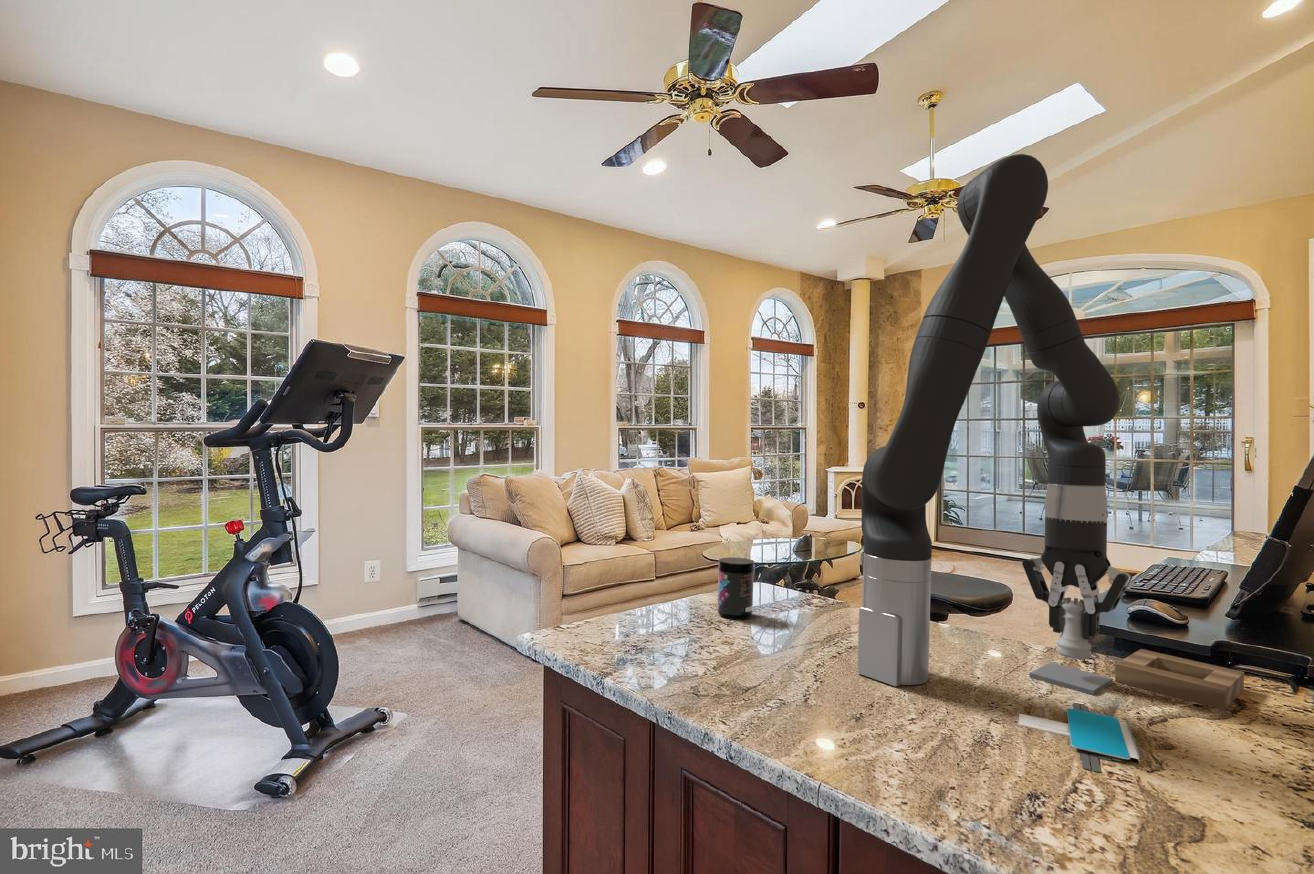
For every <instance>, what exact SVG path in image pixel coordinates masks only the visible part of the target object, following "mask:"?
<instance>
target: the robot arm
mask: <svg viewBox="0 0 1314 874" xmlns="http://www.w3.org/2000/svg"><path fill="white" fill-rule="evenodd" d="M1048 191H1049V179H1048V174H1047V172H1046V169H1045V167H1044V166H1043V164H1042V162H1040V160H1039V159H1037V158H1036V157H1035V156H1032V155H1030V154H1029V155H1028V154H1024V153H1018V154H1017V153H1016V154H1012V155H1009V156H1006V157H1003V158H1001V159H999V160H997V161H995V162H994V163H992V164H991V165H988V167H987V168H985V169H983V171H981V172H979V173H978V174H977V175H976V176H974V177H973V178H972V179H971V180H969V181H968V182H967V183H966V184H965V185H964V187H963V188H962V189H961V190H960V192H959V195H958V198H957V201H956V210H957V215H958V218H959V221H960V223H961V224H962V226H963V229H964V230H965V232H966V233H967V235H968V238H967V240H966V242H965V245H964V248H962V249H963V250H962V251H961V253H960V254H959V257H958V259H957V260H956V261H955V263H954V265H952V267H951V269H950V271H948V274H947V275H946V276H945V278H944V279H943V280H942V282H941V284H939V287H938V288H937V290H936V292H935V293H934V295H933V296H932V298H931V300H930V302H929V304H928V306H927V307H926V310H925V312H924V314H923V317H922V319H921V322H920V325H919V327H918V331H917V333H916V335H915V339H914V341H913V345H912V349H911V351H910V356H909V362H908V367H907V368H908V369H907V378H906V385H905V386H906V387H905V388H906V389H905V396H904V402H903V404H902V408H901V411H900V413H899V416H898V419H897V422H896V423H895V425H894V428H893V430H892V432H891V434H890V437H889V439H888V441H887V442H886V444H885V446H884V445H883V446H882V447H879V448H877V449H876V450H874V451H873V452H871V454H870V455H869V456H868V457H867V459H866V461H865V462H864V466H863V470H862V475H861V531H862V532H861V533H862V538H863V565H862V566H863V569H862V596H861V597H862V600H861V601H862V602H861V607H860V608H858V609H859V610H858V635H857V636H858V638H857V639H858V642H857V643H858V644H857V645H858V646H857V671H856V673H857V674H858V675H863V677H867V678H870V679H873V680H876V681H879V682H882V683H885V684H888V685H890V686H893V687H898V686H915V685H916V686H917V685H922V684H925V683H926V682H928V681H929V673H930V672H929V669H930V668H929V667H930V666H929V665H930V662H929V661H930V631H931V630H930V629H931V628H930V625H931V624H930V620H931V593H932V592H931V589H932V588H931V587H932V586H931V585H932V580H931V579H932V555H933V548H932V547H933V542H932V538H931V536H930V533H929V529H928V525H927V517H926V516H927V515H926V514H927V511H926V510H927V503H929V502H930V500H932V499H933V498H934V496H935V495H936V493H937V492H938V489H939V487H940V483H941V480H942V477H943V473H944V470H945V469H944V468H945V463H946V459H947V456H948V451H949V447H950V444H951V440H952V439H951V438H952V435H953V432H954V430H955V429H954V428H955V425H956V422H957V420H958V417H959V415H960V412H961V411H962V407H963V405H964V403H965V401H966V399H967V396H968V394H969V391H970V389H971V387H972V384H973V381H974V378H975V377H976V373H977V371H978V369H979V366H980V364H981V362H982V359H983V356H984V354H985V350H986V348H987V346H988V343H989V340H990V337H991V334H992V332H993V329H994V325H995V322H996V320H997V316H998V313H999V311H1000V309H1001V306H1002V303H1003V300H1004V299H1005V301H1006V303H1007V304H1008V306H1009V307H1008V308H1009V309H1010V311H1011V314H1012V316H1013V318H1014V321H1015V323H1016V326H1017V328H1018V332H1019V334H1020V336H1021V339H1022V341H1023V342H1022V343H1023V344H1024V347H1025V350H1026V352H1027V353H1028V356H1029V359H1030V361H1031V364H1032V365H1033V367H1035V368H1037V369H1039V370H1042V371H1043V370H1044V371H1048V372H1051V373H1052V374H1053V375H1054V376H1055V377H1056V379H1058V380H1055V381H1052V382H1051V383H1049V384H1048V385H1046V386H1045V387H1044V388H1043V389H1042V391H1041V393H1040V394H1039V397H1038V400H1037V406H1036V413H1037V414H1036V415H1037V419H1038V420H1037V421H1038V424H1039V429H1040V432H1041V436H1042V440H1043V444H1044V447H1045V449H1046V454H1047V456H1048V457H1047V459H1048V460H1047V487H1046V493H1045V499H1044V500H1045V502H1044V503H1045V504H1044V550H1043V551H1042V554H1041V556H1040V557H1036V558H1034V557H1033V558H1032V557H1031V558H1028V559H1023V561H1022V562H1021V563H1022V564H1021V565H1022V567H1023V569H1024V572H1025V574H1026V577H1027V579H1028V582H1029V584H1030V586H1031V587H1030V588H1031V590H1032V592H1033V595H1034V597H1035V598H1036V599H1037V600H1040V601H1043V602H1044V603H1047V605H1048V625H1049V628H1052V631H1053V633H1057V634H1061V633H1062V630H1063V624H1064V617H1063V614H1064V609H1063V607H1062V606H1061V604H1062V603H1063V602H1064V598H1066V593H1067V590H1068V589H1069V586H1073V587H1074V588H1075V587H1076V588H1078V589H1079V592H1080V596H1081V597H1082V600H1084V605H1085V612H1084V623H1083V638H1084V639H1087V640H1088V641H1091V640H1093V639H1094V638H1095V637H1096V636H1098V635H1099V633H1100V614H1101V613H1109V612H1111V611H1113V610H1116V609H1117V606H1119V605H1118V604H1119V603H1120V601H1121V600H1122V597H1124V594H1125V592H1126V590H1127V588H1128V586H1129V585H1130V583H1131V581H1132V579H1133V574H1131V573H1130V572H1128V571H1121V570H1119V569H1117V568H1115V567H1113V566H1112V565H1111V562H1110V560H1109V559H1108V555H1107V552H1108V541H1107V540H1108V518H1109V510H1108V497H1107V492H1106V491H1107V490H1106V477H1107V476H1106V475H1107V474H1106V472H1107V471H1106V470H1107V468H1106V467H1107V463H1106V461H1107V458H1106V452H1105V450H1104V449H1103V448H1102V447H1101V446H1100V445H1097V444H1094V443H1090V442H1089V441H1088V440H1087V436H1086V434H1085V431H1084V427H1097V426H1102V425H1103V426H1104V425H1105V424H1108V423H1109V422H1111V421H1112V420H1113V419H1115V416H1116V415H1117V413H1118V411H1119V408H1120V402H1121V401H1120V399H1121V398H1120V392H1119V389H1118V386H1117V384H1116V382H1115V380H1114V379H1113V377H1112V376H1111V374H1110V373H1109V371H1108V370H1107V369H1106V367H1105V366H1104V364H1102V361H1100V359H1099V358H1098V357H1097V355H1096V354H1095V353H1094V352H1093V350H1092V349H1091V348H1090V347H1089V345H1088V344H1087V343H1086V341H1085V337H1084V336H1083V335H1084V334H1082V333H1083V332H1082V330H1081V328H1080V325H1079V323H1078V320H1077V317H1076V315H1075V311H1074V309H1073V307H1072V305H1071V303H1070V301H1069V300H1068V297H1067V296H1066V294H1065V293H1064V292H1063V291H1062V289H1061V288H1060V287H1059V286H1058V285H1057V284H1056V283H1055V282H1054V280H1052V278H1051V277H1050V276H1049V275H1048V274H1047V273H1046V272H1045V271H1044V269H1043V268H1042V267H1040V265H1039V264H1038V262H1037V261H1036V259H1035V258H1034V257H1033V255H1032V253H1031V251H1030V250H1029V248H1028V246H1027V244H1026V242H1027V241H1028V238H1029V236H1030V234H1031V232H1032V230H1033V227H1034V226H1035V224H1036V222H1037V220H1038V218H1039V216H1040V215H1041V212H1042V210H1043V208H1044V206H1045V203H1046V201H1047V195H1048ZM1044 566H1045V568H1046V569H1047V571H1048V572H1049V573H1050V576H1052V577H1051V582H1050V585H1049V586H1048V584H1047V583H1046V579H1045V577H1044V575H1043V571H1044ZM1106 574H1107V575H1108V579H1107V581H1108V583H1109V584H1110V587H1109V589H1108V590H1107V592H1106V594H1105V596H1104V598H1103V600H1102V601H1101V599H1100V589H1099V584H1098V583H1099V581H1100V580H1101V579H1102V578H1103V577H1104V576H1105V575H1106ZM1048 587H1049V588H1048Z"/></svg>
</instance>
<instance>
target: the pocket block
mask: <svg viewBox="0 0 1314 874" xmlns="http://www.w3.org/2000/svg"><path fill="white" fill-rule="evenodd" d="M1114 669H1115V670H1114V672H1115V677H1114V678H1115V679H1114V681H1115V682H1117V683H1121V684H1125V685H1129V686H1133V687H1136V688H1139V689H1144V690H1147V691H1151V692H1155V693H1159V694H1162V695H1166V696H1171V697H1174V698H1177V699H1182V700H1185V701H1189V702H1193V703H1196V704H1200V705H1204V706H1208V707H1212V708H1215V709H1219V710H1222V711H1226V709H1227V708H1228V707H1229V706H1230V705H1232V703H1233V702H1234V701H1235V700H1236V699H1237V698H1238V697H1239V696H1240V694H1242V693H1243V691H1245V672H1244V671H1241V670H1236V669H1232V668H1228V667H1223V666H1220V665H1219V666H1218V665H1215V664H1209V663H1205V662H1200V661H1197V660H1196V661H1195V660H1192V659H1189V658H1182V657H1178V656H1174V655H1170V654H1166V653H1160V652H1157V651H1152V650H1148V649H1143V648H1140V649H1138V650H1137V651H1134V652H1133V653H1131V654H1130V655H1128V656H1126V657H1125V658H1123V659H1122V660H1120V661H1118V662H1116V663H1115V668H1114Z"/></svg>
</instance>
